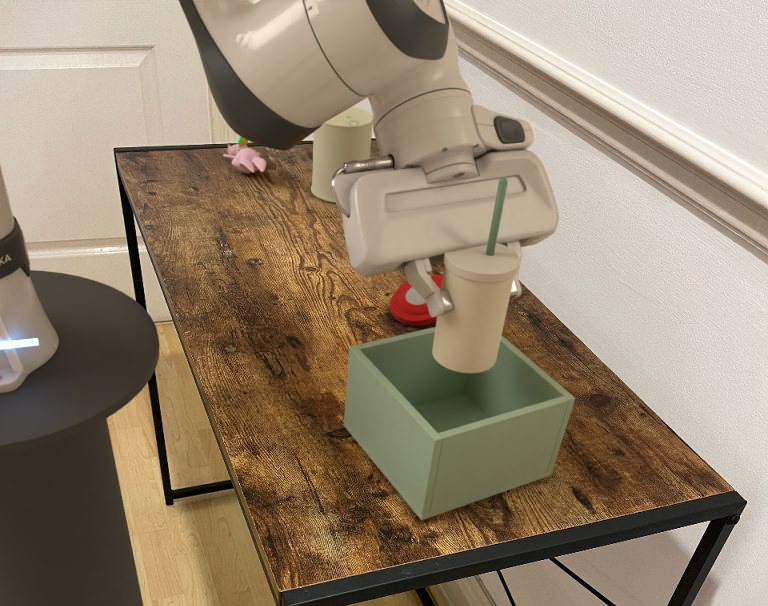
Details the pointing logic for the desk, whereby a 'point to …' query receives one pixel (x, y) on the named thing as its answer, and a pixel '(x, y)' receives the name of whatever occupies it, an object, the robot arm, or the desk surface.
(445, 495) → the bin
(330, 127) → the can
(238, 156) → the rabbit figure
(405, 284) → the red flat rounded piece
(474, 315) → the paper cup
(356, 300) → the desk surface
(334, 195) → the robot arm
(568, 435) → the desk surface
